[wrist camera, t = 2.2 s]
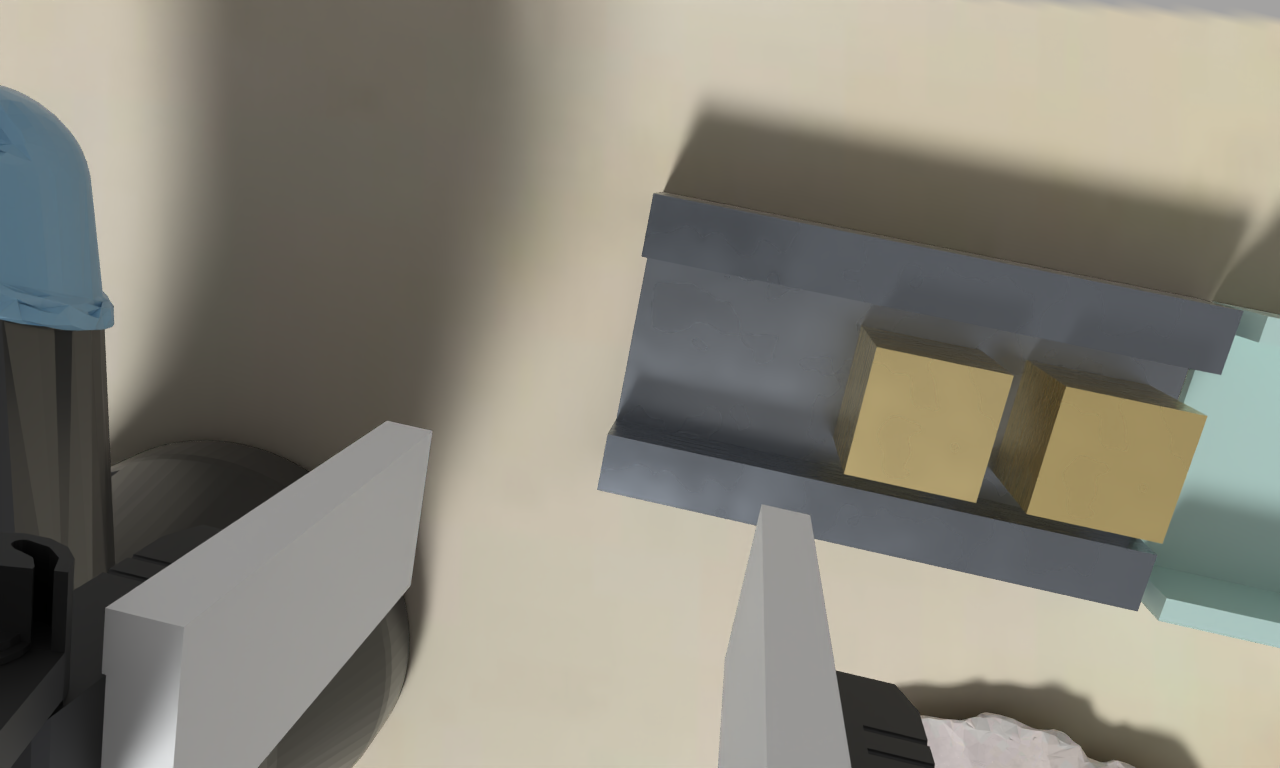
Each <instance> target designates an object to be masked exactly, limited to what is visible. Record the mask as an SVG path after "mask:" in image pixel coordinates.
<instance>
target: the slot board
mask: <svg viewBox="0 0 1280 768" xmlns="http://www.w3.org/2000/svg"><path fill="white" fill-rule="evenodd" d="M642 257H646V258H647V263H646V268H645V273H644V278H643V284H642V289H641V294H640V299H639V304H638V310H637V315H636V320H635V325H634V330H633V336H632V341H631V346H630V351H629V357H628V362H627V367H626V372H625V377H624V383H623V388H622V393H621V398H620V403H619V409H618V414H617V419H616V421H615V422H614V424H613V426H612V428H611V429H610V431H609V433H608V436H607V441H606V446H605V452H604V457H603V462H602V467H601V473H600V478H599V483H598V488H597V490H601V491H605V492H609V493H614V494H618V495H623V496H627V497H632V498H636V499H641V500H645V501H649V502H654V503H658V504H663V505H667V506H672V507H676V508H681V509H685V510H689V511H694V512H698V513H703V514H707V515H712V516H716V517H721V518H725V519H729V520H734V521H738V522H743V523H747V524H752V525H756V526H757V522H758V518H759V513H760V509H761V505H762V504H763V505H767V506H772V507H776V508H781V509H785V510H790V511H794V512H799V513H803V514H808V515H810V517H811V523H812V529H813V535H814V539H818V540H823V541H827V542H832V543H836V544H841V545H845V546H849V547H854V548H858V549H863V550H867V551H872V552H876V553H881V554H885V555H889V556H894V557H898V558H903V559H907V560H912V561H916V562H921V563H925V564H929V565H934V566H938V567H943V568H947V569H952V570H956V571H961V572H965V573H969V574H974V575H978V576H983V577H987V578H992V579H996V580H1001V581H1005V582H1009V583H1014V584H1018V585H1023V586H1027V587H1032V588H1036V589H1041V590H1045V591H1049V592H1054V593H1058V594H1063V595H1067V596H1072V597H1076V598H1081V599H1085V600H1089V601H1094V602H1098V603H1103V604H1107V605H1112V606H1116V607H1121V608H1125V609H1129V610H1134V611H1138V609H1139V606H1140V603H1141V600H1142V597H1143V594H1144V592H1145V589H1146V586H1147V583H1148V580H1149V577H1150V575H1151V572H1152V569H1153V566H1154V563H1155V561H1156V558H1157V554H1156V553H1155V552H1153V551H1152V550H1151V549H1150V548H1149V547H1148V546H1147V545H1146V544H1145V543H1144V542H1143V541H1142V540H1141V539H1138V538H1134V537H1129V536H1124V535H1120V534H1115V533H1111V532H1106V531H1102V530H1097V529H1092V528H1088V527H1083V526H1079V525H1074V524H1070V523H1065V522H1061V521H1056V520H1051V519H1047V518H1042V517H1038V516H1033V515H1029V514H1026V513H1025V512H1024V510H1023V509H1022V508H1021V507H1020V505H1019V504H1018V503H1017V502H1016V500H1015V499H1014V498H1013V497H1012V495H1011V494H1010V493H1009V492H1008V491H1007V489H1006V488H1005V487H1004V486H1003V484H1002V483H1001V482H1000V481H999V479H998V478H997V477H996V476H995V474H994V473H993V470H994V467H995V464H996V460H997V457H998V454H999V450H1000V447H1001V444H1002V440H1003V437H1004V434H1005V430H1006V427H1007V423H1008V420H1009V417H1010V413H1011V410H1012V407H1013V403H1014V400H1015V397H1016V393H1017V390H1018V387H1019V383H1020V380H1021V377H1022V373H1023V370H1024V367H1025V363H1026V360H1030V361H1035V362H1040V363H1045V364H1050V365H1054V366H1059V367H1064V368H1069V369H1074V370H1079V371H1083V372H1088V373H1093V374H1098V375H1103V376H1108V377H1112V378H1117V379H1122V380H1127V381H1132V382H1137V383H1141V384H1146V385H1150V386H1152V387H1154V388H1156V389H1158V390H1160V391H1161V392H1163V393H1165V394H1167V395H1169V396H1171V397H1173V398H1175V399H1177V400H1178V398H1179V395H1180V392H1181V389H1182V386H1183V383H1184V380H1185V378H1186V375H1187V372H1188V369H1193V370H1198V371H1203V372H1208V373H1213V374H1218V375H1221V374H1222V371H1223V368H1224V365H1225V363H1226V360H1227V357H1228V354H1229V351H1230V348H1231V346H1232V343H1233V340H1234V337H1235V334H1236V331H1237V329H1238V326H1239V323H1240V320H1241V317H1242V314H1243V312H1244V311H1242V310H1238V309H1235V308H1231V307H1227V306H1224V305H1220V304H1216V303H1213V302H1209V301H1206V300H1202V299H1198V298H1194V297H1189V296H1184V295H1179V294H1174V293H1169V292H1164V291H1159V290H1154V289H1149V288H1144V287H1139V286H1134V285H1129V284H1124V283H1119V282H1114V281H1109V280H1104V279H1099V278H1093V277H1088V276H1083V275H1078V274H1073V273H1068V272H1063V271H1058V270H1053V269H1048V268H1043V267H1038V266H1033V265H1028V264H1023V263H1018V262H1013V261H1008V260H1003V259H998V258H993V257H988V256H983V255H978V254H973V253H968V252H963V251H958V250H953V249H948V248H943V247H938V246H933V245H928V244H923V243H918V242H913V241H908V240H903V239H898V238H893V237H888V236H883V235H878V234H873V233H867V232H862V231H857V230H852V229H847V228H842V227H837V226H832V225H827V224H822V223H817V222H812V221H807V220H802V219H797V218H792V217H787V216H782V215H777V214H772V213H767V212H762V211H757V210H752V209H747V208H742V207H737V206H732V205H727V204H722V203H717V202H712V201H707V200H702V199H697V198H692V197H687V196H682V195H677V194H672V193H667V192H659V193H654V194H653V199H652V204H651V210H650V215H649V220H648V225H647V231H646V236H645V241H644V246H643V252H642ZM861 326H866V327H871V328H875V329H880V330H885V331H890V332H895V333H900V334H904V335H909V336H914V337H919V338H924V339H929V340H933V341H938V342H943V343H948V344H953V345H958V346H962V347H967V348H972V349H977V350H981V351H983V352H984V353H985V354H986V355H988V356H989V357H990V358H992V359H993V360H994V361H996V362H997V363H998V364H999V365H1001V366H1002V367H1003V368H1005V369H1006V370H1007V371H1009V372H1010V373H1011V374H1012V375H1014V377H1013V380H1012V384H1011V387H1010V391H1009V394H1008V397H1007V401H1006V404H1005V407H1004V411H1003V414H1002V417H1001V421H1000V424H999V428H998V431H997V434H996V438H995V441H994V444H993V448H992V451H991V454H990V458H989V461H988V465H987V468H986V471H985V475H984V478H983V481H982V485H981V488H980V491H979V495H978V498H977V502H976V503H974V502H969V501H965V500H960V499H956V498H951V497H946V496H942V495H937V494H933V493H928V492H924V491H919V490H915V489H910V488H905V487H901V486H896V485H892V484H887V483H883V482H878V481H873V480H869V479H864V478H860V477H855V476H851V475H846V474H844V473H843V469H842V466H841V463H840V459H839V456H838V453H837V449H836V446H835V442H834V439H833V436H834V432H835V428H836V424H837V420H838V416H839V412H840V408H841V404H842V400H843V397H844V393H845V389H846V385H847V381H848V377H849V373H850V369H851V365H852V361H853V357H854V353H855V349H856V345H857V341H858V337H859V333H860V329H861Z"/></svg>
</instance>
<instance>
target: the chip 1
mask: <svg viewBox="0 0 1280 768" xmlns="http://www.w3.org/2000/svg"><path fill="white" fill-rule="evenodd" d="M1013 377H1014V375H1012V374H1011V373H1010V372H1009V371H1007V370H1006V369H1005V368H1003V367H1002V366H1001V365H999V364H998V363H997V362H996V361H994V360H993V359H992V358H990V357H989V356H988V355H986V354H985V353H984V352H983V351H981V350H977V349H972V348H967V347H962V346H958V345H953V344H948V343H943V342H938V341H933V340H929V339H924V338H919V337H914V336H909V335H904V334H900V333H895V332H890V331H885V330H880V329H875V328H871V327H866V326H861V329H860V333H859V337H858V341H857V345H856V349H855V353H854V357H853V361H852V365H851V369H850V373H849V377H848V381H847V385H846V389H845V393H844V397H843V400H842V404H841V408H840V412H839V416H838V420H837V424H836V428H835V432H834V436H833V439H834V442H835V446H836V449H837V453H838V456H839V459H840V463H841V466H842V469H843V473H844V474H846V475H851V476H855V477H860V478H864V479H869V480H873V481H878V482H883V483H887V484H892V485H896V486H901V487H905V488H910V489H915V490H919V491H924V492H928V493H933V494H937V495H942V496H946V497H951V498H956V499H960V500H965V501H969V502H974V503H976V502H977V498H978V495H979V491H980V488H981V485H982V481H983V478H984V475H985V471H986V468H987V465H988V461H989V458H990V454H991V451H992V448H993V444H994V441H995V438H996V434H997V431H998V428H999V424H1000V421H1001V417H1002V414H1003V411H1004V407H1005V404H1006V401H1007V397H1008V394H1009V391H1010V387H1011V384H1012V380H1013Z"/></svg>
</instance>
